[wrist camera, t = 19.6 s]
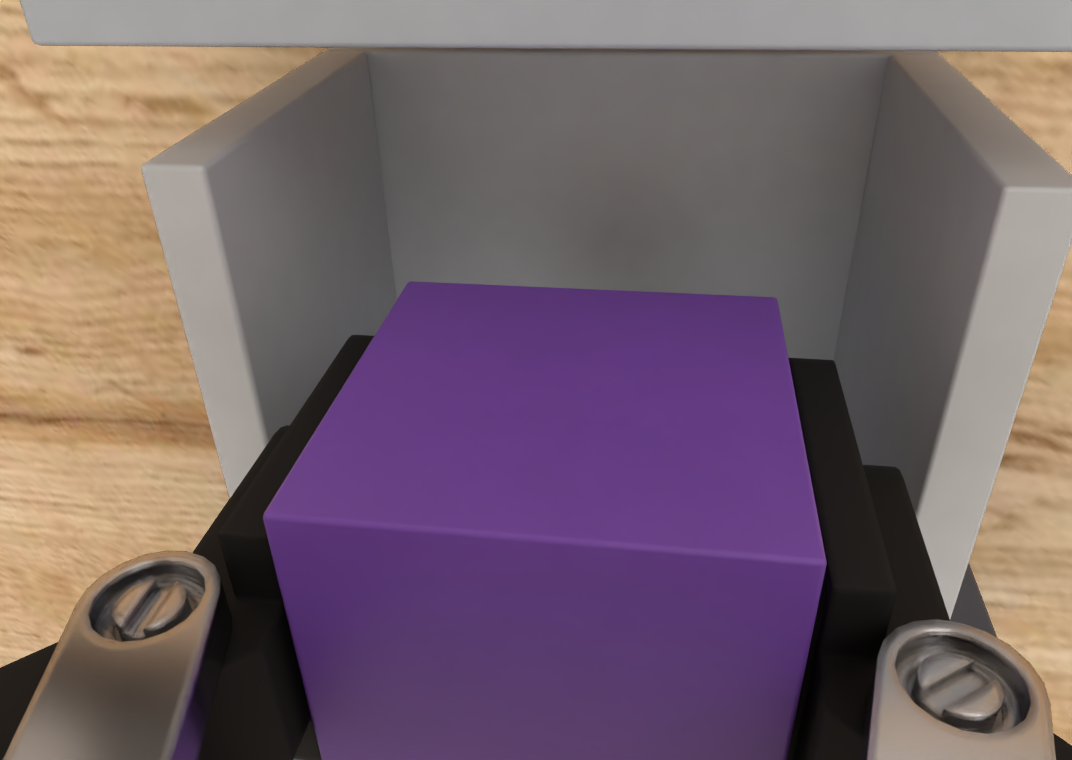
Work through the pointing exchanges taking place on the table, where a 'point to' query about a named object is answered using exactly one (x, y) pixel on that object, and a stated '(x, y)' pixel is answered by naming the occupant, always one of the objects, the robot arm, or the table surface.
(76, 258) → the table surface
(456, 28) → the drawer
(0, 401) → the table surface
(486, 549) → the cube
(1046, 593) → the table surface
